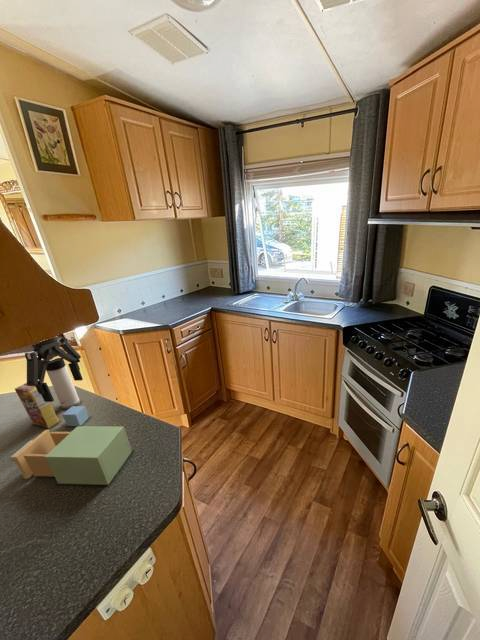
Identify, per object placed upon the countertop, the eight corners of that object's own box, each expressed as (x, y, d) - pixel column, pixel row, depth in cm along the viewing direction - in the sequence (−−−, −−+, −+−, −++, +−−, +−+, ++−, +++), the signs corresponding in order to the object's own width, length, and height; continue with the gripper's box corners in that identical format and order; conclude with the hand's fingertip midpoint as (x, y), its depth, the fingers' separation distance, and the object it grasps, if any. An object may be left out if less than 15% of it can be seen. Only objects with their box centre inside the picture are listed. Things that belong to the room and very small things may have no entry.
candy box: (31, 424, 105) (13, 388, 98) (43, 417, 109) (26, 382, 102) (47, 429, 102) (30, 392, 95) (59, 421, 106) (43, 385, 99)
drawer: (10, 478, 81) (-3, 456, 77) (42, 449, 91) (32, 429, 88) (69, 479, 79) (59, 457, 76) (95, 450, 89) (87, 429, 86)
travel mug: (64, 411, 112) (45, 364, 103) (60, 405, 116) (40, 360, 108) (82, 403, 116) (64, 358, 107) (77, 398, 120) (60, 354, 112)
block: (67, 426, 103) (62, 414, 101) (76, 417, 108) (72, 406, 105) (80, 426, 103) (75, 414, 100) (89, 417, 107) (84, 406, 105)
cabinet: (57, 483, 79) (44, 456, 75) (87, 450, 91) (77, 426, 86) (108, 484, 78) (97, 457, 74) (132, 451, 89) (123, 426, 85)
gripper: (15, 345, 77) (46, 411, 86) (79, 317, 99) (98, 372, 108) (-10, 346, 78) (23, 411, 87) (59, 318, 100) (79, 372, 109)
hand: (65, 390), depth 98 cm, fingers open, 13 cm apart
